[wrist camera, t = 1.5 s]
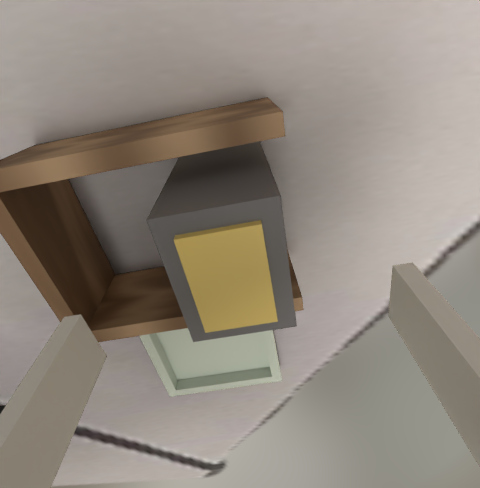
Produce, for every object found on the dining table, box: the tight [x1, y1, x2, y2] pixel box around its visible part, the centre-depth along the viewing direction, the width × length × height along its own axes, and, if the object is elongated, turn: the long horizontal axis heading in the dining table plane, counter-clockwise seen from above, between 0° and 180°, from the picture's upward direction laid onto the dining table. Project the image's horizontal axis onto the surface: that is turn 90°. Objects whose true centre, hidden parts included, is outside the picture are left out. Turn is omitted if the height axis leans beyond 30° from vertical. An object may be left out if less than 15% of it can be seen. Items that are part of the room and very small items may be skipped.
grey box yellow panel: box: [147, 141, 297, 342], centre depth 20 cm, size 6×8×11 cm
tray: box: [139, 328, 282, 397], centre depth 32 cm, size 13×14×2 cm
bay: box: [0, 97, 303, 342], centre depth 22 cm, size 17×13×7 cm
